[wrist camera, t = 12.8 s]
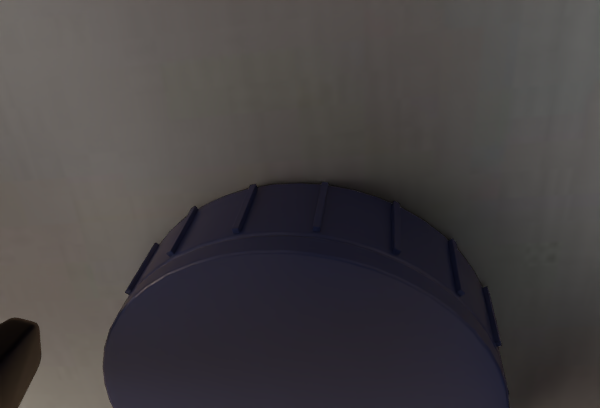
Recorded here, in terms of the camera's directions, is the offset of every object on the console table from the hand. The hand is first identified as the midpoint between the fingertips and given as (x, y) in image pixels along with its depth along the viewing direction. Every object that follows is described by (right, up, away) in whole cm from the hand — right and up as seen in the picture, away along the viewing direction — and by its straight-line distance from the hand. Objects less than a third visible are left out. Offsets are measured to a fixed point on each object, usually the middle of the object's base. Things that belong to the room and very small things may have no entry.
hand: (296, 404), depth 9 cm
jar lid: (0, 0, 0) cm, 0 cm away
